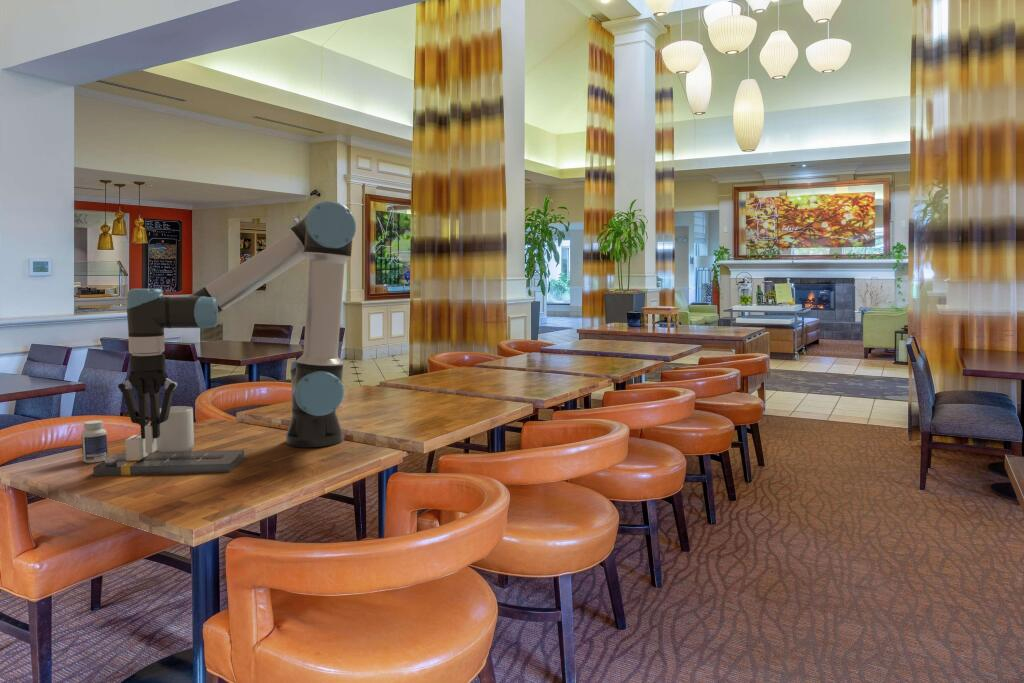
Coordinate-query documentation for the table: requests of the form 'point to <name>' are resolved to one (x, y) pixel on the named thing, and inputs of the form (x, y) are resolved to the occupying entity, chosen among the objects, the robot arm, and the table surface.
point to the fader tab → (135, 448)
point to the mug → (177, 430)
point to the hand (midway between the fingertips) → (151, 451)
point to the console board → (171, 463)
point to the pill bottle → (94, 442)
